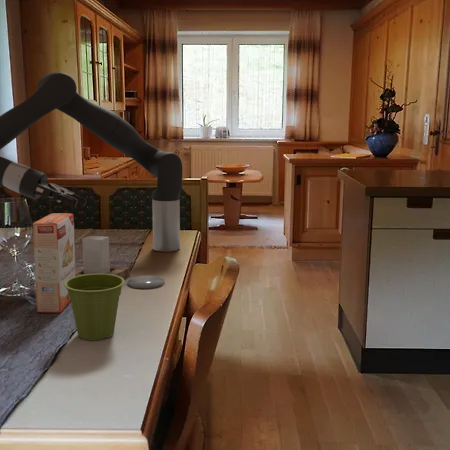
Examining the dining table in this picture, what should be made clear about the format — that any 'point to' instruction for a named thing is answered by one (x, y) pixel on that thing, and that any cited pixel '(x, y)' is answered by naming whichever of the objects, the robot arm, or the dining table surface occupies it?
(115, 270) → the pocket block
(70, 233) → the cracker box
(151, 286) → the slate coaster
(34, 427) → the dining table surface
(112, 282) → the plant pot
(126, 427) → the dining table surface
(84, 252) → the skincare box
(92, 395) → the dining table surface
